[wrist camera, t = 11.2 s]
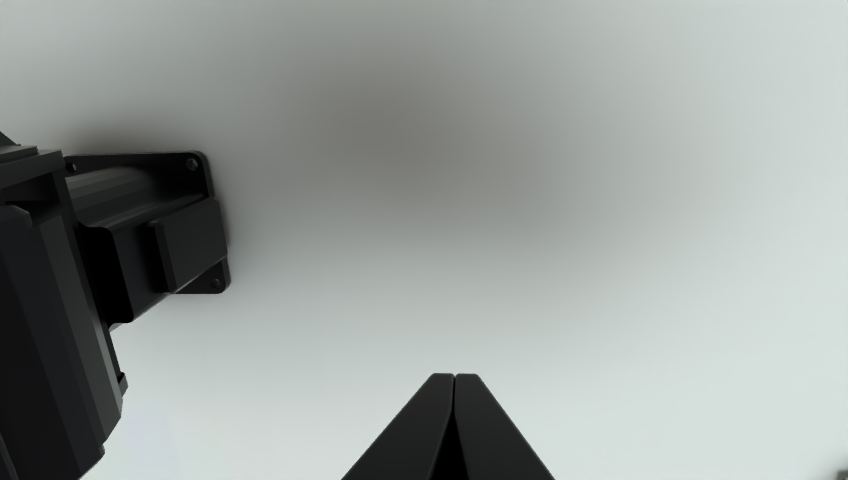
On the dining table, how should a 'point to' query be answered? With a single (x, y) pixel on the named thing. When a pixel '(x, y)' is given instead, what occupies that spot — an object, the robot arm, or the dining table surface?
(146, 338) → the dining table surface
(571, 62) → the dining table surface
